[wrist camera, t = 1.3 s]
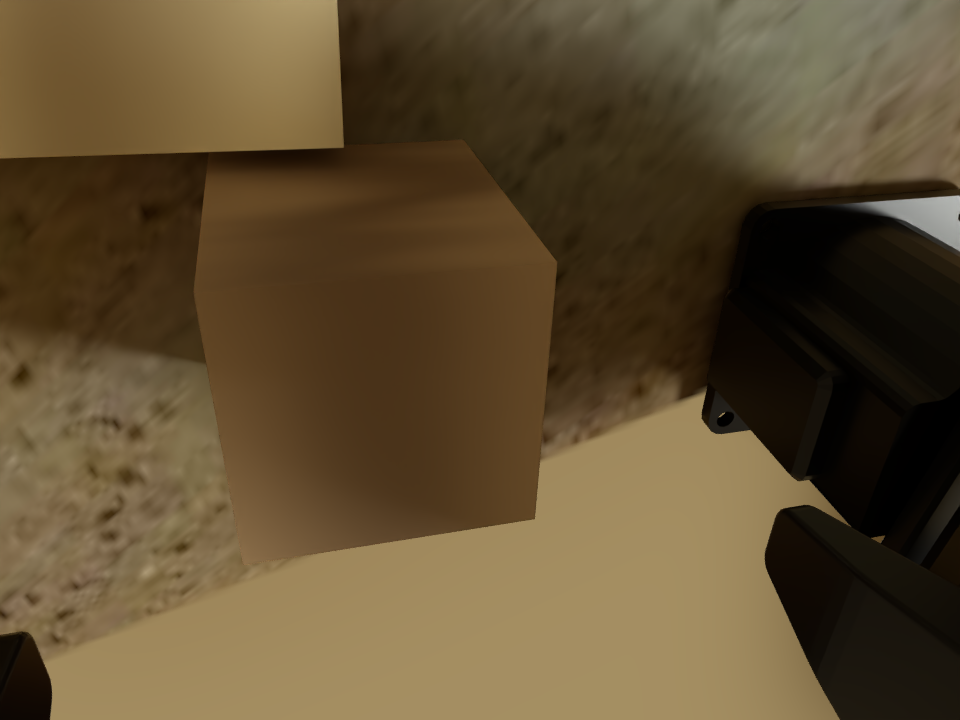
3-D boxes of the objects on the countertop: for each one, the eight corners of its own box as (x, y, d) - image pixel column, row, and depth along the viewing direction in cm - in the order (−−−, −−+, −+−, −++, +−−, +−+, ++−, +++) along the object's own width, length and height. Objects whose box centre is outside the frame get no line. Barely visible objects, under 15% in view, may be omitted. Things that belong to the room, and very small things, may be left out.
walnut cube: (462, 138, 16) (557, 262, 12) (459, 347, 19) (534, 519, 14) (208, 150, 15) (193, 293, 10) (242, 369, 18) (242, 565, 13)
